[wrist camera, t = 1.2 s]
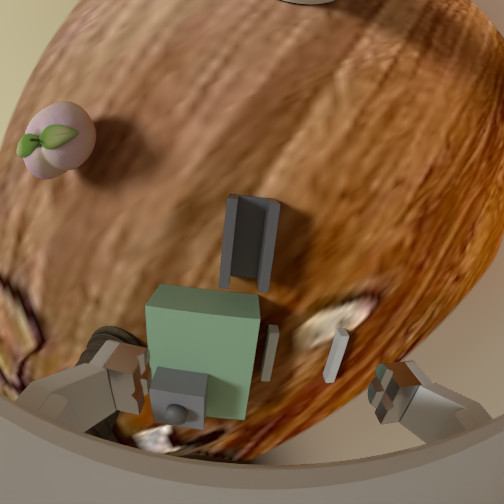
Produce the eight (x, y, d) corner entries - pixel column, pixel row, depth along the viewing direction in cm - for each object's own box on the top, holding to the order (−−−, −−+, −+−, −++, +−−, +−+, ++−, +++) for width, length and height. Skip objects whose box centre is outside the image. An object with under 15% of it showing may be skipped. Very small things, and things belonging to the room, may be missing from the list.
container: (103, 314, 35) (35, 398, 18) (156, 350, 37) (114, 451, 19) (85, 351, 37) (29, 430, 20) (132, 383, 38) (94, 473, 21)
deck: (160, 283, 34) (127, 331, 23) (352, 301, 35) (387, 351, 24) (164, 380, 38) (145, 436, 27) (323, 392, 39) (340, 447, 29)
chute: (222, 270, 34) (218, 287, 29) (230, 193, 31) (227, 198, 26) (265, 275, 34) (268, 292, 29) (275, 198, 31) (280, 204, 27)
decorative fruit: (107, 98, 27) (61, 78, 18) (116, 160, 29) (70, 159, 20) (50, 125, 28) (0, 120, 18) (58, 183, 30) (7, 191, 20)
